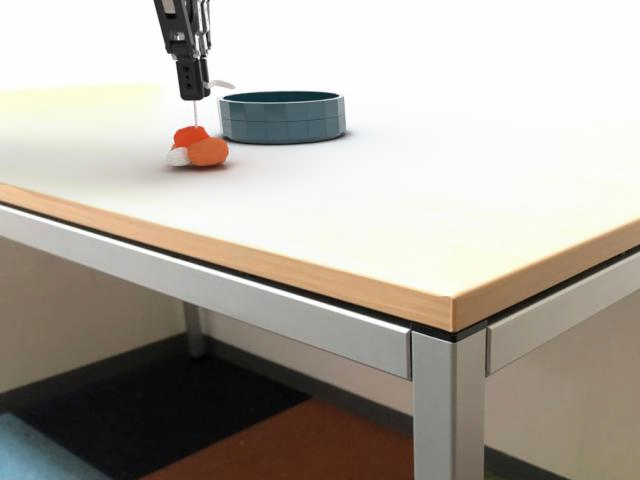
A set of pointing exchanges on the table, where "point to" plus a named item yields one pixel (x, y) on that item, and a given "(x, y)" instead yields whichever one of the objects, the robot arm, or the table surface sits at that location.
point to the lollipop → (198, 141)
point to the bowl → (282, 116)
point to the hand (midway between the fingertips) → (196, 97)
